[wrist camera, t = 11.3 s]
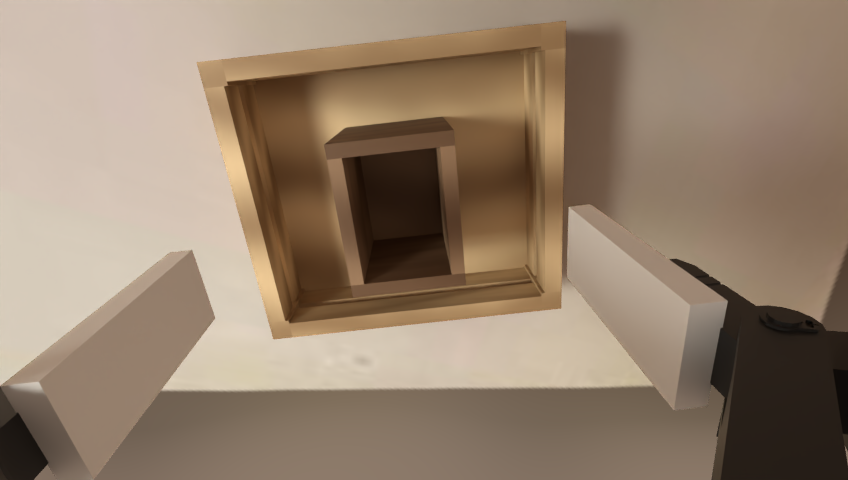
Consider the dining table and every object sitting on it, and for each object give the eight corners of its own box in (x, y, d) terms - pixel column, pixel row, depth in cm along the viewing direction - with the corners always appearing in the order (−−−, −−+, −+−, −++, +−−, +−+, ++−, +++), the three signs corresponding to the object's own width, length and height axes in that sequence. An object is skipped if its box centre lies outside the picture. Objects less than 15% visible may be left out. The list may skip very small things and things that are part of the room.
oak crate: (236, 65, 25) (196, 62, 20) (536, 31, 25) (566, 20, 20) (293, 299, 31) (273, 339, 26) (538, 273, 31) (561, 308, 26)
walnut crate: (345, 127, 26) (323, 144, 19) (442, 116, 26) (453, 130, 19) (365, 247, 29) (352, 297, 22) (453, 237, 29) (465, 285, 22)
